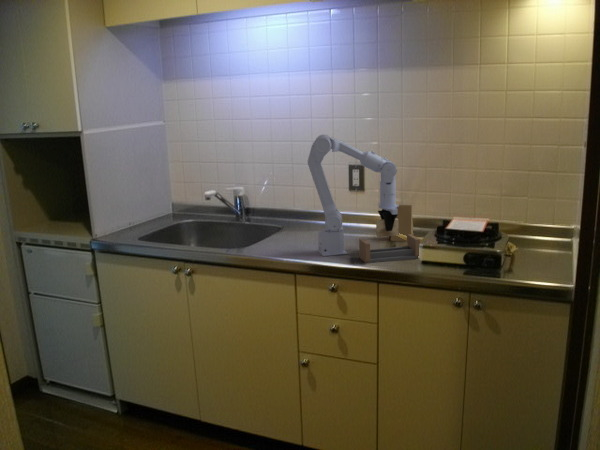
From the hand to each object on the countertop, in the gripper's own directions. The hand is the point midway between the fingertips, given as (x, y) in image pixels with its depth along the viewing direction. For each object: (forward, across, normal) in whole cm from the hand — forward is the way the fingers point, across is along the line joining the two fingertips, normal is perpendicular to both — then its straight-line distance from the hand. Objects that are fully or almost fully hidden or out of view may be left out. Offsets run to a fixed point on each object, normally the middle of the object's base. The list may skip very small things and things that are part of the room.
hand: (387, 230), depth 212 cm
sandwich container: (+9, +20, -14) cm, 26 cm away
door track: (+8, -8, +2) cm, 12 cm away
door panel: (+2, 0, 0) cm, 2 cm away
